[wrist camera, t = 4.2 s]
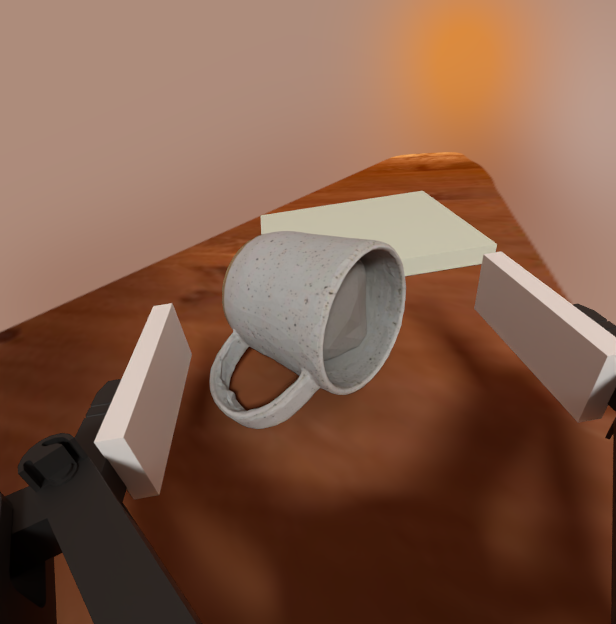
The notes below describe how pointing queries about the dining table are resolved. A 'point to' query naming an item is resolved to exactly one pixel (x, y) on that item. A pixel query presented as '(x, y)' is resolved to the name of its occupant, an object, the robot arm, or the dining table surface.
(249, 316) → the ceramic mug
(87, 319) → the dining table surface
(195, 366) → the dining table surface
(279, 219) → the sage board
